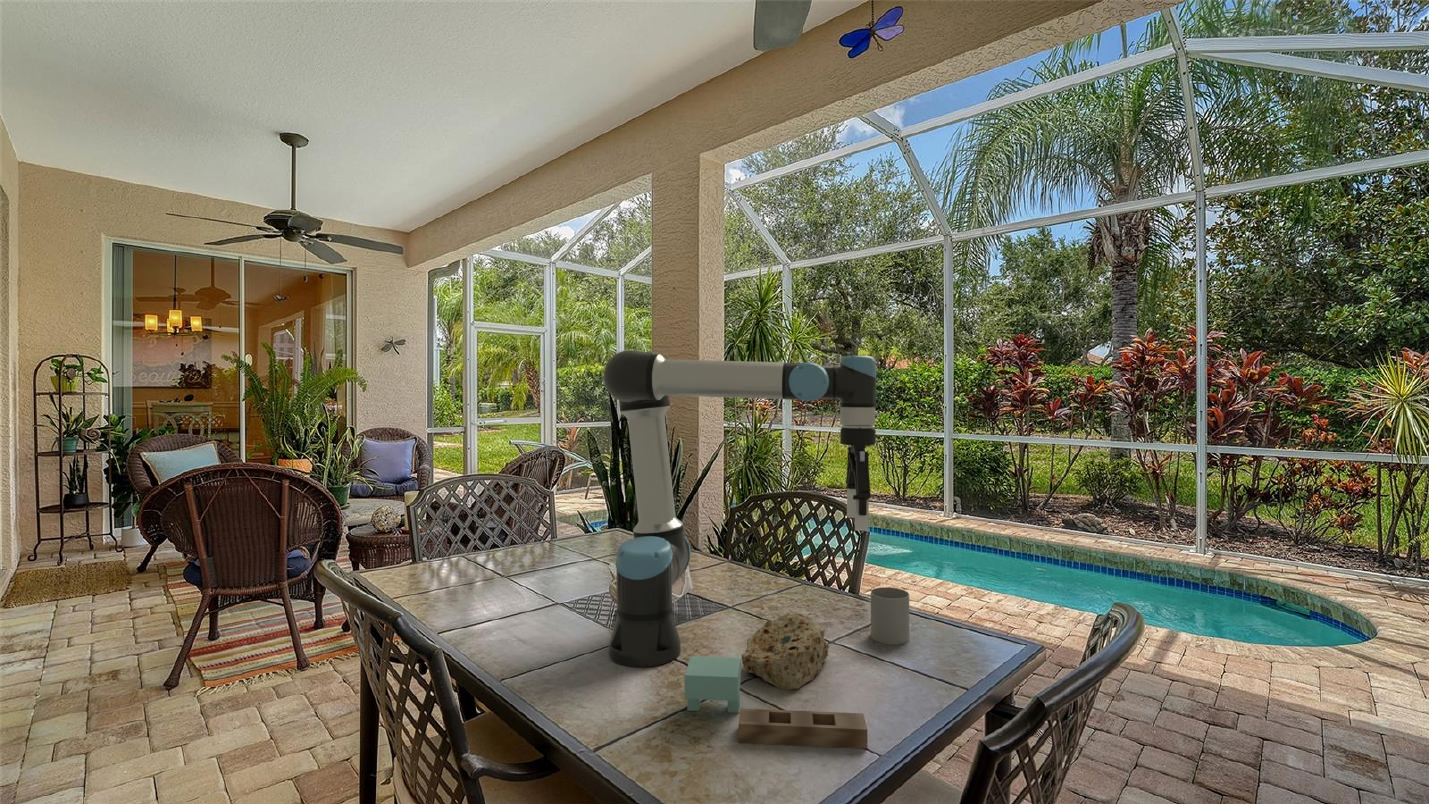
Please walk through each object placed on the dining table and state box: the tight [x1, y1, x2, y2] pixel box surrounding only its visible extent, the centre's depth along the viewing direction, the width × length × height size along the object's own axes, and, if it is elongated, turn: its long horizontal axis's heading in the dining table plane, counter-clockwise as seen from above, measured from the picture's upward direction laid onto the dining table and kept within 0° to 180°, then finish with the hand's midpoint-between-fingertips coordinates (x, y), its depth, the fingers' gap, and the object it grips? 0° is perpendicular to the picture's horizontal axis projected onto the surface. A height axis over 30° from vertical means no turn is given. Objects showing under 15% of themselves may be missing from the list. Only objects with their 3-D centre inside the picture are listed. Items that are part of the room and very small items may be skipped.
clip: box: [684, 655, 742, 714], centre depth 114 cm, size 9×8×8 cm
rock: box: [741, 612, 830, 691], centre depth 131 cm, size 21×14×10 cm
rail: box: [737, 707, 868, 750], centre depth 105 cm, size 20×5×3 cm, turn 84°
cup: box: [870, 586, 910, 645], centre depth 146 cm, size 8×8×10 cm
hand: (857, 523), depth 143 cm, fingers open, 13 cm apart
